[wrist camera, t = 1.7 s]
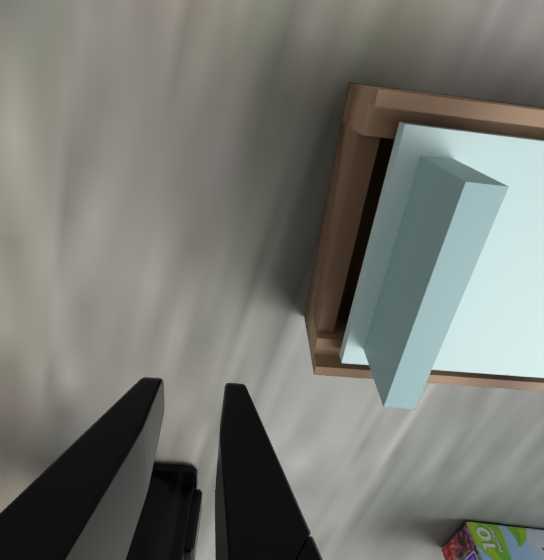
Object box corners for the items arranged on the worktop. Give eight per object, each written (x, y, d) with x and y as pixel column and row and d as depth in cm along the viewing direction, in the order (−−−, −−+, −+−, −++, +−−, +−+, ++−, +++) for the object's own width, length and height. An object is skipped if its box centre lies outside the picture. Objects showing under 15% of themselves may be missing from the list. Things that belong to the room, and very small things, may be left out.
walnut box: (304, 317, 22) (314, 374, 18) (349, 82, 16) (378, 89, 12) (597, 341, 23) (667, 399, 19) (738, 133, 17) (880, 154, 13)
